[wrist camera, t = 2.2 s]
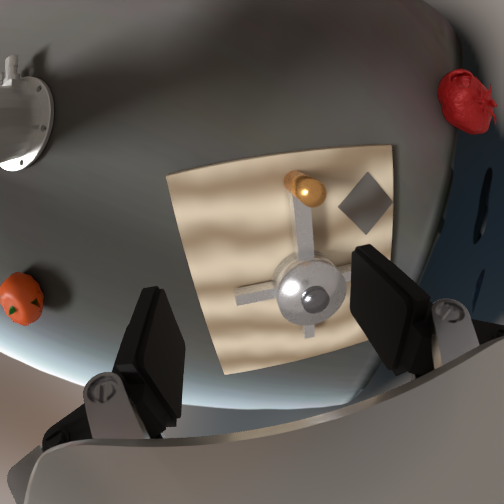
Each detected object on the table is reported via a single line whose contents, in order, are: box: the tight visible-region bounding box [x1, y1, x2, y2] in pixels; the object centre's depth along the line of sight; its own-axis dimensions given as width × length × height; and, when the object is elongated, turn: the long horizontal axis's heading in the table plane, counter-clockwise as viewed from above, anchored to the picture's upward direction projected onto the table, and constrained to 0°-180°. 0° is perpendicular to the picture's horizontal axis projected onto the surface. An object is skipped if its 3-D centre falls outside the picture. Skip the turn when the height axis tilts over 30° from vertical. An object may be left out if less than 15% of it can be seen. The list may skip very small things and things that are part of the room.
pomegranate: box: [438, 69, 497, 134], centre depth 23 cm, size 10×10×9 cm
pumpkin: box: [0, 272, 44, 326], centre depth 28 cm, size 8×8×7 cm
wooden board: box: [166, 144, 393, 375], centre depth 34 cm, size 30×26×2 cm
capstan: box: [234, 170, 351, 339], centre depth 29 cm, size 22×17×6 cm
